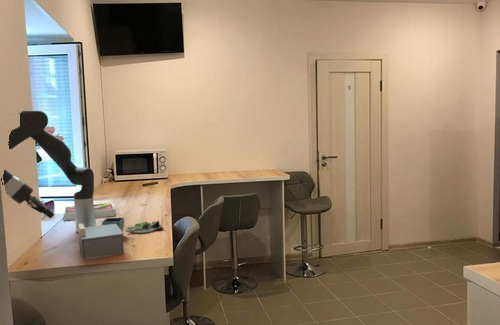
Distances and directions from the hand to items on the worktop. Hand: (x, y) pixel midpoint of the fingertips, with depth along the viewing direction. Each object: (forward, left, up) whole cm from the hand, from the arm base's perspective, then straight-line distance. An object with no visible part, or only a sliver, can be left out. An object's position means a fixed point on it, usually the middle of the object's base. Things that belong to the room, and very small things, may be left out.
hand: (52, 216), depth 171 cm
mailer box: (-13, +13, -17) cm, 25 cm away
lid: (-13, +13, -9) cm, 20 cm away
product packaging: (-73, -43, -18) cm, 87 cm away
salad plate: (-51, +11, -18) cm, 55 cm away
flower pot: (-33, +5, -18) cm, 38 cm away
